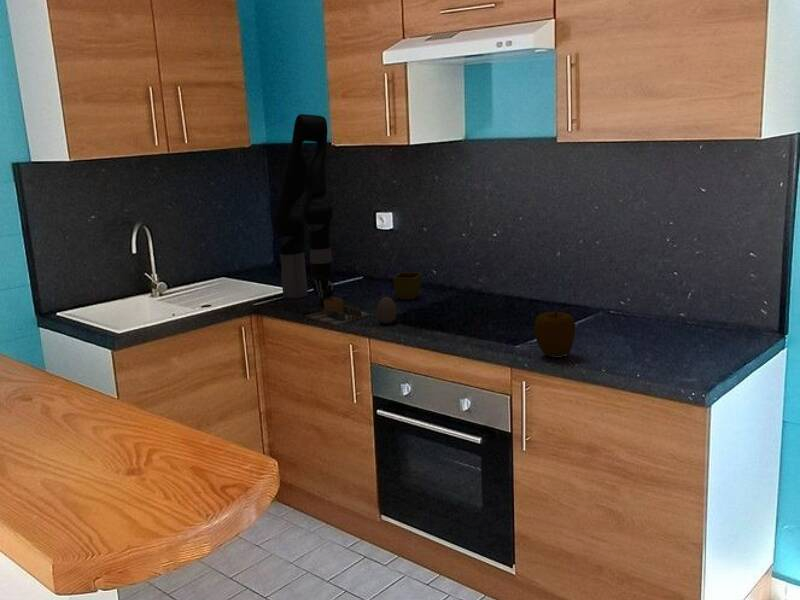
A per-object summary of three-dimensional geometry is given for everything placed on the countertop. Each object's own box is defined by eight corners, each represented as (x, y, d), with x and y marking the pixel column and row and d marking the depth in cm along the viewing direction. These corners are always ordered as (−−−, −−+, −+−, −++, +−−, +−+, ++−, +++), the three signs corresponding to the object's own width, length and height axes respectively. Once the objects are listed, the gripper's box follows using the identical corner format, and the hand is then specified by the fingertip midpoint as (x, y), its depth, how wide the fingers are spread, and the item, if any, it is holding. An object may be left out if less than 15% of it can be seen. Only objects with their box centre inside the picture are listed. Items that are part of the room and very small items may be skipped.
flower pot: (416, 301, 297) (414, 277, 295) (393, 300, 300) (392, 277, 298) (423, 296, 305) (421, 272, 303) (401, 295, 308) (399, 272, 306)
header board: (305, 316, 283) (304, 304, 282) (342, 308, 293) (341, 295, 292) (335, 325, 269) (334, 312, 268) (373, 316, 279) (372, 303, 278)
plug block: (324, 313, 284) (323, 298, 283) (333, 311, 287) (332, 296, 285) (334, 316, 280) (333, 300, 278) (343, 313, 282) (342, 298, 281)
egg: (373, 324, 268) (371, 298, 266) (385, 320, 273) (384, 293, 271) (389, 327, 264) (387, 300, 262) (401, 322, 269) (399, 295, 267)
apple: (531, 360, 222) (530, 315, 219) (540, 349, 231) (540, 305, 229) (571, 363, 217) (570, 317, 215) (579, 352, 227) (579, 307, 224)
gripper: (340, 261, 280) (343, 309, 284) (319, 256, 290) (322, 302, 294) (322, 265, 275) (326, 313, 280) (301, 259, 285) (305, 306, 290)
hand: (324, 307), depth 287 cm, fingers closed
